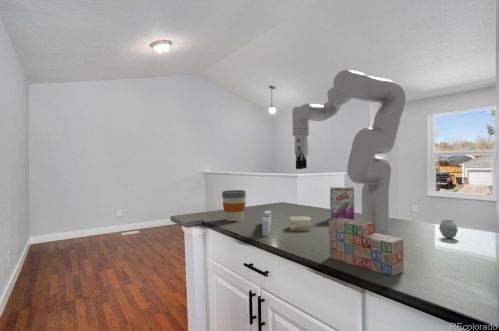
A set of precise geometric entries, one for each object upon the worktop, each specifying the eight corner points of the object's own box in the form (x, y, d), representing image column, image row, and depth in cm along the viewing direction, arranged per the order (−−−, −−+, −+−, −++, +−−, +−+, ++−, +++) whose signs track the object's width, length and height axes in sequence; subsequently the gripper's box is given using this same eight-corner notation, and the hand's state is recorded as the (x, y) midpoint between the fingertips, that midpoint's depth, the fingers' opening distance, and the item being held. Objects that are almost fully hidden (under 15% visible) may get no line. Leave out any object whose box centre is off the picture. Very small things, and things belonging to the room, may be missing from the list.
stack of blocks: (404, 271, 87) (403, 227, 87) (391, 277, 84) (391, 231, 83) (341, 253, 105) (341, 216, 105) (328, 257, 101) (328, 219, 101)
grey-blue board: (268, 235, 130) (268, 220, 130) (262, 235, 131) (262, 220, 131) (270, 222, 156) (270, 209, 156) (265, 222, 157) (265, 210, 156)
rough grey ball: (454, 236, 123) (454, 218, 123) (461, 240, 116) (460, 222, 116) (436, 235, 124) (436, 217, 124) (442, 240, 118) (442, 221, 118)
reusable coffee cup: (246, 222, 159) (245, 192, 159) (221, 222, 159) (220, 193, 159) (246, 217, 171) (246, 189, 171) (223, 217, 172) (223, 190, 171)
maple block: (311, 230, 138) (311, 219, 138) (290, 231, 139) (290, 219, 139) (309, 227, 145) (309, 216, 145) (289, 227, 146) (289, 216, 146)
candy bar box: (331, 220, 158) (331, 187, 157) (330, 218, 163) (329, 186, 162) (354, 220, 156) (354, 187, 156) (352, 218, 161) (351, 186, 161)
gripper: (305, 131, 141) (306, 169, 142) (311, 133, 158) (312, 167, 158) (288, 132, 144) (289, 169, 144) (296, 134, 160) (297, 168, 161)
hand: (301, 168), depth 151 cm, fingers open, 9 cm apart
